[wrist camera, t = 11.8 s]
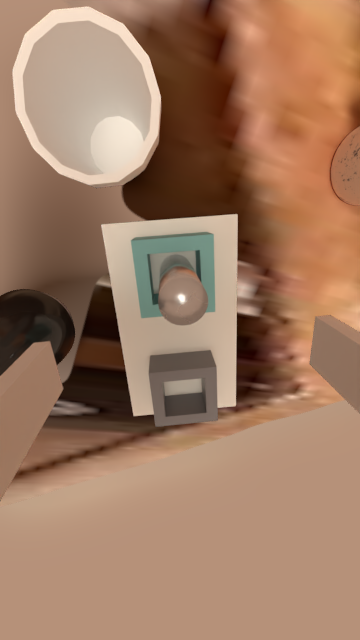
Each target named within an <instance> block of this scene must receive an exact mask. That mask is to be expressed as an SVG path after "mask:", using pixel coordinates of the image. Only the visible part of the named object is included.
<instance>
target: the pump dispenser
mask: <svg viewBox="0 0 360 640" xmlns="http://www.w3.org/2000/svg"><path fill="white" fill-rule="evenodd" d="M74 338H75V328H74V324H73V320H72V317H71V314H70V313H69V311H68V309H67V308H66V307H65V305H64V304H63V303H62V302H60V301H59V300H58V299H57V298H55V297H53V296H51V295H49V294H46V293H43V292H39V291H35V290H29V289H20V290H13V291H10V292H7V293H5V294H3V295H1V296H0V376H1V375H2V374H3V373H4V372H5V371H6V370H7V369H8V368H9V367H10V366H11V365H12V364H13V363H14V362H15V361H16V360H17V359H18V358H19V357H20V356H21V355H22V354H23V353H24V352H25V351H26V350H27V349H28V348H29V347H30V346H31V345H32V344H33V343H36V342H47V341H50V343H51V347H52V350H53V354H54V357H55V361H56V365H58V364H59V363H60V362H61V361H62V360H63V359H64V358H65V356H66V355H67V354H68V353H69V351H70V349H71V348H72V345H73V343H74Z"/></svg>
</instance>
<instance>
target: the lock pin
mask: <svg viewBox="0 0 360 640" xmlns="http://www.w3.org/2000/svg"><path fill="white" fill-rule="evenodd" d="M158 306H159V310H160V312H161V314H162V316H163V317H164V318H165V319H166V320H167V321H169V322H170V323H172V324H175V325H181V326H185V325H190V324H193V323H195V322H197V321H198V320H199V319H201V318H202V316H203V315H204V314H205V312H206V310H207V307H208V295H207V292H206V290H205V288H204V287H203V285H202V283H201V281H200V280H199V278H198V276H197V274H196V272H195V271H194V269H193V267H192V265H191V264H190V262H189V260H188V259H187V258H186V257H184V256H182V255H179V254H173V255H170V256H168V257H166V258H165V259H164V260H163V262H162V263H161V266H160V277H159V295H158Z"/></svg>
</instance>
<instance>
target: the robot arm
mask: <svg viewBox="0 0 360 640" xmlns="http://www.w3.org/2000/svg"><path fill="white" fill-rule="evenodd" d="M310 365H311V366H312V367H313V368H314V369H315V370H316V371H317V372H318V373H319V374H320V375H321V376H322V377H323V378H324V379H325V380H326V381H327V382H328V383H329V384H330V385H331V386H332V387H333V388H334V389H335V390H336V391H337V392H338V393H339V394H340V395H341V396H342V397H343V398H344V399H345V400H346V401H347V402H348V403H350V405H352V406H353V407H354V408H355V409H356V410H357V411H358V412H359V413H360V332H359V331H357V330H355V329H353V328H352V327H350V326H348V325H347V324H345V323H343V322H341V321H340V320H338V319H336V318H334V317H333V316H331V315H326V316H315V324H314V332H313V340H312V348H311V356H310ZM62 390H63V386H62V382H61V379H60V375H59V372H58V368H57V365H56V361H55V357H54V354H53V350H52V347H51V343H50V341H47V342H36V343H33V344H32V345H31V346H30V347H29V348H28V349H27V350H26V351H25V352H24V353H23V354H22V355H21V356H20V357H19V358H18V359H17V360H16V361H15V362H14V363H13V364H12V365H11V366H10V367H9V368H8V369H7V370H6V371H5V372H4V373H3V374H2V375H1V376H0V501H1V499H2V497H3V496H4V494H5V492H6V490H7V488H8V487H9V485H10V483H11V481H12V480H13V478H14V476H15V474H16V472H17V471H18V469H19V467H20V465H21V463H22V462H23V460H24V458H25V456H26V455H27V453H28V451H29V449H30V447H31V446H32V444H33V442H34V440H35V438H36V437H37V435H38V433H39V431H40V430H41V428H42V426H43V424H44V422H45V421H46V419H47V417H48V415H49V413H50V412H51V410H52V408H53V406H54V404H55V403H56V401H57V399H58V397H59V396H60V394H61V392H62Z"/></svg>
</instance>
